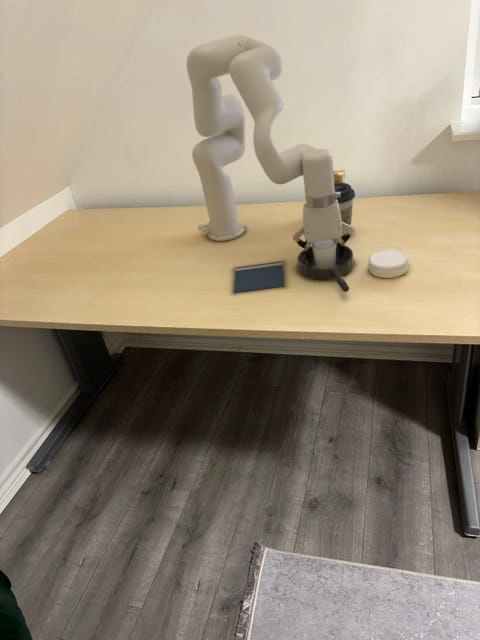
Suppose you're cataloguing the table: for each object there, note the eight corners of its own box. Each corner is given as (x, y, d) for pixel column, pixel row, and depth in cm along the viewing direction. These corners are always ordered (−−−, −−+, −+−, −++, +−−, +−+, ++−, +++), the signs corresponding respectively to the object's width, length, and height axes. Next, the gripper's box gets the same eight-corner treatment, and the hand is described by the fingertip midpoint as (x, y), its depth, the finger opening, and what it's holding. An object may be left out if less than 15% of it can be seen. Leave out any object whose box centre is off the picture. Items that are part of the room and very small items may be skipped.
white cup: (335, 257, 143) (333, 235, 139) (340, 269, 137) (338, 246, 134) (311, 261, 144) (309, 240, 140) (315, 273, 138) (313, 251, 134)
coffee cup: (339, 246, 149) (337, 198, 141) (312, 237, 157) (307, 191, 148) (364, 231, 154) (363, 184, 146) (336, 223, 162) (333, 178, 154)
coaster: (392, 256, 139) (392, 245, 137) (415, 270, 131) (416, 259, 129) (361, 267, 137) (361, 256, 135) (383, 283, 129) (383, 271, 127)
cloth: (234, 293, 137) (233, 292, 137) (235, 268, 149) (235, 267, 148) (284, 286, 135) (284, 285, 135) (282, 262, 147) (282, 261, 147)
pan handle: (329, 272, 133) (329, 266, 132) (336, 271, 134) (335, 265, 133) (343, 293, 124) (342, 287, 123) (350, 292, 124) (350, 286, 123)
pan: (300, 283, 135) (299, 272, 133) (296, 257, 148) (295, 247, 146) (357, 276, 134) (357, 265, 132) (348, 250, 146) (348, 239, 144)
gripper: (351, 188, 131) (354, 248, 141) (286, 198, 133) (293, 256, 143) (356, 199, 125) (358, 260, 135) (287, 209, 127) (294, 269, 137)
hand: (325, 258), depth 139 cm, fingers open, 7 cm apart
